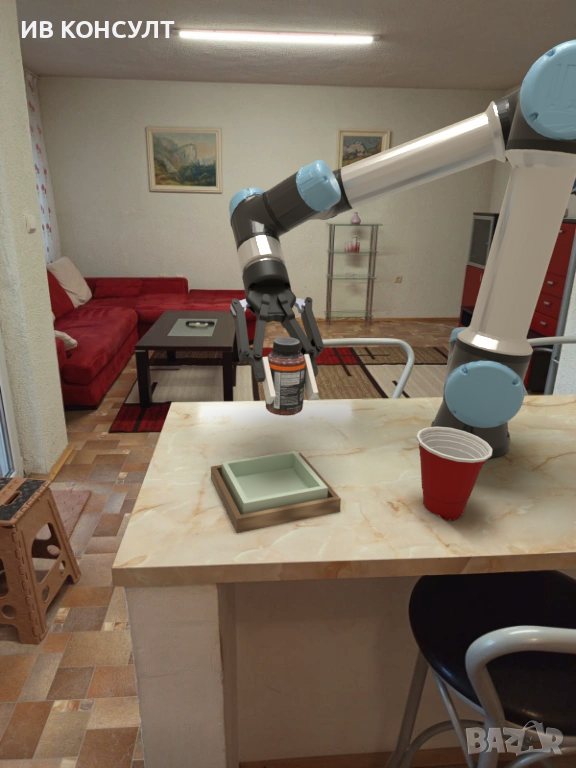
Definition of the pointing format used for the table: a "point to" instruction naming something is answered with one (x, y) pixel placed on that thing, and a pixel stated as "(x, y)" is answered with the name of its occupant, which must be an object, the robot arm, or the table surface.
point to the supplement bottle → (287, 376)
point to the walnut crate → (276, 514)
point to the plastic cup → (449, 468)
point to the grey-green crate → (271, 482)
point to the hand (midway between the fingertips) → (292, 397)
